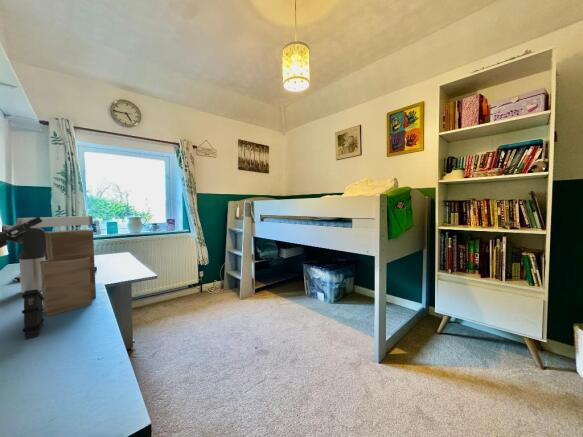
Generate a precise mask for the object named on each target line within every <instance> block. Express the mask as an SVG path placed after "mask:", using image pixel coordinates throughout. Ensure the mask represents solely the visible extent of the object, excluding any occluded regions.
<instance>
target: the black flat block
mask: <svg viewBox="0 0 583 437" xmlns="http://www.w3.org/2000/svg"><path fill="white" fill-rule="evenodd" d="M21 296H22V297H21V298H23V310H21V314H22V315H23V328H22V333H24V339H25V340H28V339H33V338H36V337H38V336H39V335H40V334H41V333H40V332H41V331H42V328H43V325H44V321H45V318H43V317H44V316H43V311H44V309H43V300H44V298H43V296H42V292H41V291H39V290H38V289H35V290H29V291H24V293H23V294H22V295H21Z"/></svg>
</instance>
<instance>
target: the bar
mask: <svg viewBox="0 0 583 437" xmlns="http://www.w3.org/2000/svg"><path fill="white" fill-rule="evenodd" d="M39 218H40V219H41V220H42V222H40V223H38V224H36V225H34V226H32V227H31V228H36V227H39V228H49V227H50V228H51V227H52V228H53V227H55V228H56V227H68V226H69V227H72V226H90V225H91V226H92V225H93V224H94V221H93V216H92V215H86V216H85V215H81V216H80V215H79V216H53V217H52V216H51V217H49V216H48V217H46V216H45V217H43V216H41V217H39ZM33 219H35V217H17V218H15V220H16V222H15V224H23V223H25V222H28V221H31V220H33ZM22 227H23V228H25V226H22Z"/></svg>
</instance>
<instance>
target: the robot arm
mask: <svg viewBox="0 0 583 437" xmlns="http://www.w3.org/2000/svg"><path fill="white" fill-rule="evenodd" d="M34 218H35V219H33V220H31V221H28V222H25V223H23V224H16V223H15V224H12V225H8V224H3V223H1V224H2V232H0V249H1V248H4V247H6V246H7V245H9V242H13V243H17V244H20V245H21V244H22V250H21V252H20V253H19V255H18V262H19V274H20V275H19V276H20V293H21V294H24V291H29V290H35V289H38V290H39V291H40V292H42V281H41V264H40V261H46V260H47V259H46V254H47V252H46V234H45V232H46V230H45V229H44V228H43V227H36V228H31V227H32V226H34V225H36V224H38V223H40V222H42V220H41V219H40V218H41V217H36V216H35V217H34ZM22 226H25V228H23V227H22Z"/></svg>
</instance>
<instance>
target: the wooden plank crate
mask: <svg viewBox="0 0 583 437" xmlns="http://www.w3.org/2000/svg"><path fill="white" fill-rule="evenodd" d="M94 233H95V232H94V230H91V229H85V228H84V229H71V230H70V229H69V230H55V231H45V234H46V259H45V260H46V261H40V264H41V281H42V291H41V294H42V296H43V298H44V300H42V309H44V311H42V313H43V314H45V315H46V317H47V316H48V317H49V316H53V315H56V314H60V313H64V312H67V311H71V310H75V309H79V308H83V307H86V306H90V305H92V299H95V298H97V292H96V287H97V286H96V269H95V249H94V248H95V246H94V245H95V244H94Z"/></svg>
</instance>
